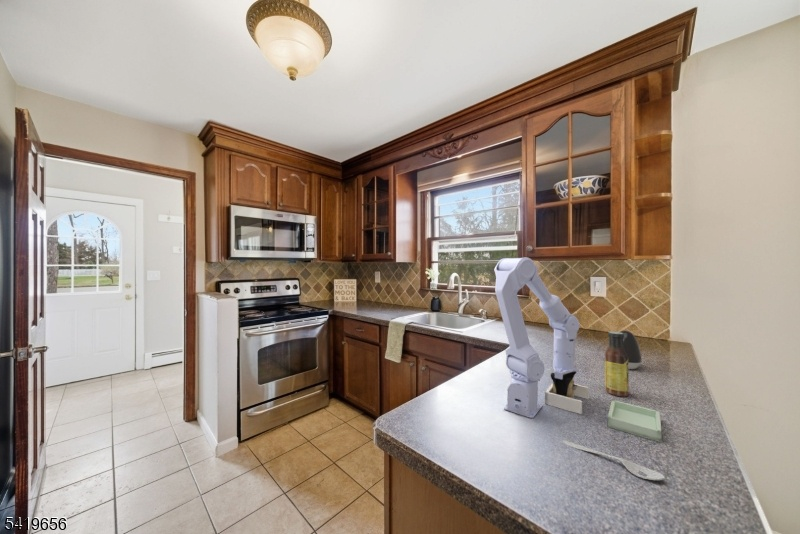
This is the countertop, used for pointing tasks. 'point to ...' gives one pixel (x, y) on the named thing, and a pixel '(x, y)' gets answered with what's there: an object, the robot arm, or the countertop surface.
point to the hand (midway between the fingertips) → (563, 395)
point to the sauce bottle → (616, 366)
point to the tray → (635, 420)
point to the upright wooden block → (570, 389)
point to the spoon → (629, 465)
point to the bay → (567, 399)
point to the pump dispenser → (631, 350)
